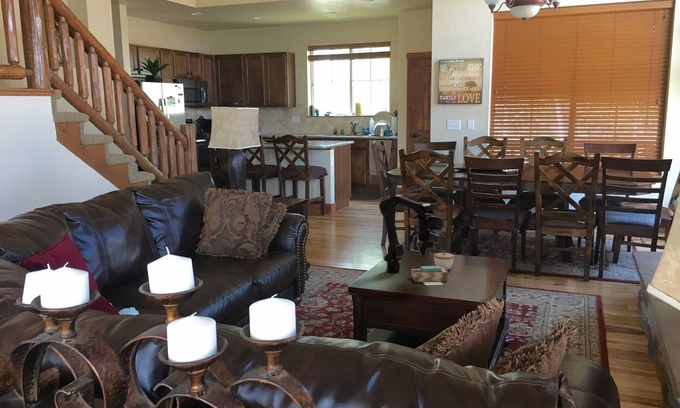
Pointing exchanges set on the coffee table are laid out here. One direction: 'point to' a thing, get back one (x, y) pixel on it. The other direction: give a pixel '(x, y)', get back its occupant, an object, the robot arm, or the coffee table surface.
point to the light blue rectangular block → (430, 269)
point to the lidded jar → (444, 260)
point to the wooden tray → (429, 275)
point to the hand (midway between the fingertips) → (422, 257)
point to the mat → (432, 283)
